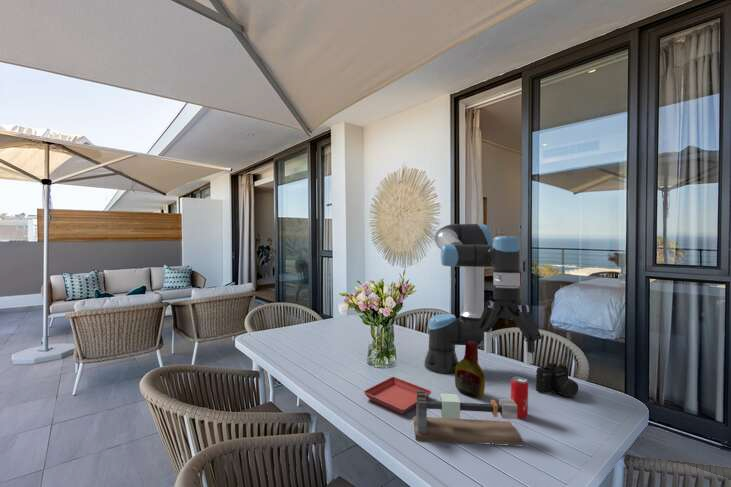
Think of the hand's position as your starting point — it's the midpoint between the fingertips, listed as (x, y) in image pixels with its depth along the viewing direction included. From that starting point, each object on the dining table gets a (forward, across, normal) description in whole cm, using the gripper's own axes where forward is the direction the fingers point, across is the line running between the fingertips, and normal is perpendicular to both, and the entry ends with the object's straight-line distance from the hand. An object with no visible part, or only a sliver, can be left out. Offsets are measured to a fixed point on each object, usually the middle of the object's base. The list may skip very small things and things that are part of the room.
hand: (507, 358), depth 101 cm
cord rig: (+23, -8, -10) cm, 26 cm away
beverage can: (+22, -6, +14) cm, 26 cm away
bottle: (+21, -24, +12) cm, 34 cm away
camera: (+20, -8, +41) cm, 47 cm away
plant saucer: (+22, -35, -14) cm, 44 cm away
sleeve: (+17, -10, -13) cm, 24 cm away
